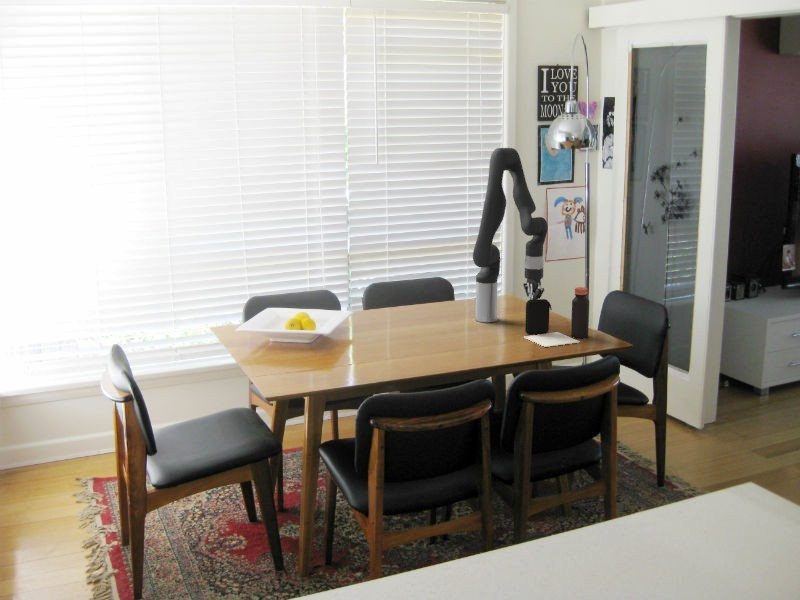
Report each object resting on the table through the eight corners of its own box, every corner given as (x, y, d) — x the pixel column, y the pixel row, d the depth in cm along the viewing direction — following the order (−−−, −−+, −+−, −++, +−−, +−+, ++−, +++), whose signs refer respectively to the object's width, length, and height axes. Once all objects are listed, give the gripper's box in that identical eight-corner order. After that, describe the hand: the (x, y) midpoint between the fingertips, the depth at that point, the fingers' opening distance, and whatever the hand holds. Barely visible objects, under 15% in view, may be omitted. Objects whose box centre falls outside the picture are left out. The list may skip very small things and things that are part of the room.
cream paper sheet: (523, 337, 340) (523, 336, 340) (557, 333, 346) (557, 331, 346) (545, 347, 326) (545, 346, 326) (580, 343, 332) (580, 341, 331)
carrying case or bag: (549, 332, 347) (550, 298, 344) (551, 334, 344) (552, 299, 341) (524, 334, 346) (525, 299, 343) (526, 335, 343) (526, 300, 340)
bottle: (588, 339, 337) (590, 290, 332) (570, 338, 338) (572, 289, 333) (587, 334, 343) (589, 286, 338) (570, 334, 344) (572, 286, 340)
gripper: (517, 264, 347) (517, 305, 351) (534, 270, 335) (533, 312, 339) (533, 263, 350) (532, 303, 354) (550, 268, 338) (549, 310, 342)
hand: (533, 308), depth 347 cm, fingers closed
